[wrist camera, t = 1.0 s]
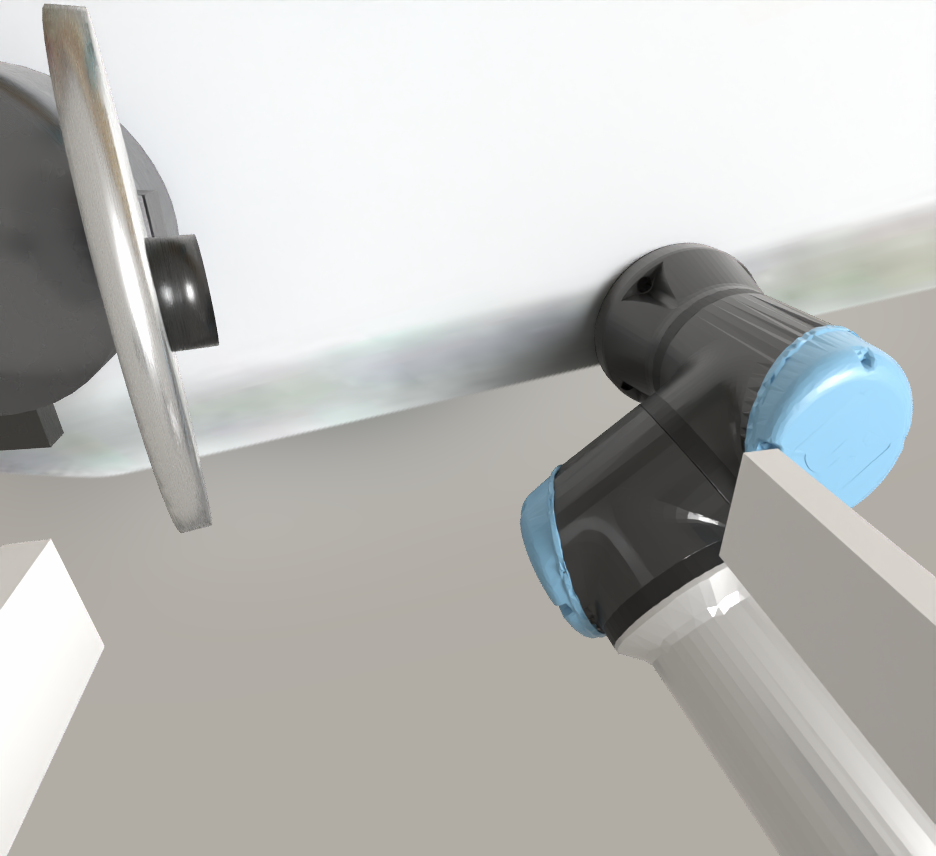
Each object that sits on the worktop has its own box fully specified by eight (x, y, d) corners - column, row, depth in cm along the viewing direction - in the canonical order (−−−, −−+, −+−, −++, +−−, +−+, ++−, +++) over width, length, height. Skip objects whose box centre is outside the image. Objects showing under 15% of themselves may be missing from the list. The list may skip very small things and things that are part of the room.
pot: (160, 10, 38) (84, -28, 27) (232, 375, 50) (199, 444, 40) (-227, -5, 35) (-479, -54, 24) (-48, 389, 47) (-163, 468, 37)
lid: (67, 36, 29) (143, 40, 30) (166, 409, 39) (220, 399, 40) (-18, -64, 12) (161, -44, 13) (195, 640, 22) (285, 611, 24)
